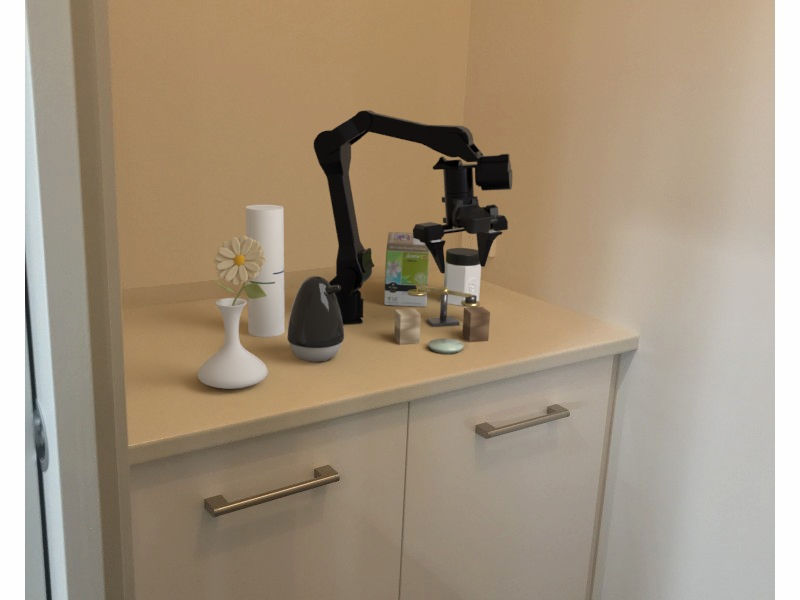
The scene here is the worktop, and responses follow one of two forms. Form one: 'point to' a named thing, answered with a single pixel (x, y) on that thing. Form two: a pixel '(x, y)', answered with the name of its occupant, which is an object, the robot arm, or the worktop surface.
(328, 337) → the pump dispenser
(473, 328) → the block walnut
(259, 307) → the cylindrical container
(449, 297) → the jar
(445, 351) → the dish
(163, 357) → the worktop surface
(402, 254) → the tea box
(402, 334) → the block beech
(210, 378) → the flower in vase
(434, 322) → the balance
